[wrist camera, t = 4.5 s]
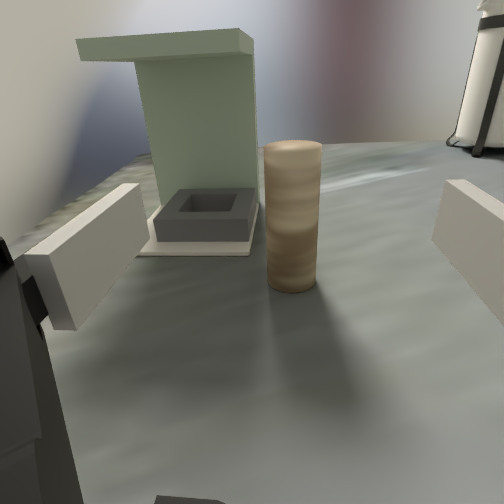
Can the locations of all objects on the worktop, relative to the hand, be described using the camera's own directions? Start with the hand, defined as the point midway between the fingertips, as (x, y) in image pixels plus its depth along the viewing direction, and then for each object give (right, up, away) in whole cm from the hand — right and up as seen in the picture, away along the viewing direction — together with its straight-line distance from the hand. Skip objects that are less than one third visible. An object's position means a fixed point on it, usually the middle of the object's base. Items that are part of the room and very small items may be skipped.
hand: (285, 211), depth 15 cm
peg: (+2, -4, +14) cm, 14 cm away
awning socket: (-8, +1, +25) cm, 26 cm away
